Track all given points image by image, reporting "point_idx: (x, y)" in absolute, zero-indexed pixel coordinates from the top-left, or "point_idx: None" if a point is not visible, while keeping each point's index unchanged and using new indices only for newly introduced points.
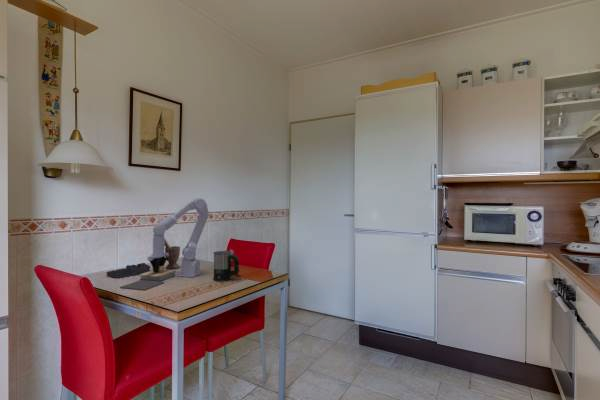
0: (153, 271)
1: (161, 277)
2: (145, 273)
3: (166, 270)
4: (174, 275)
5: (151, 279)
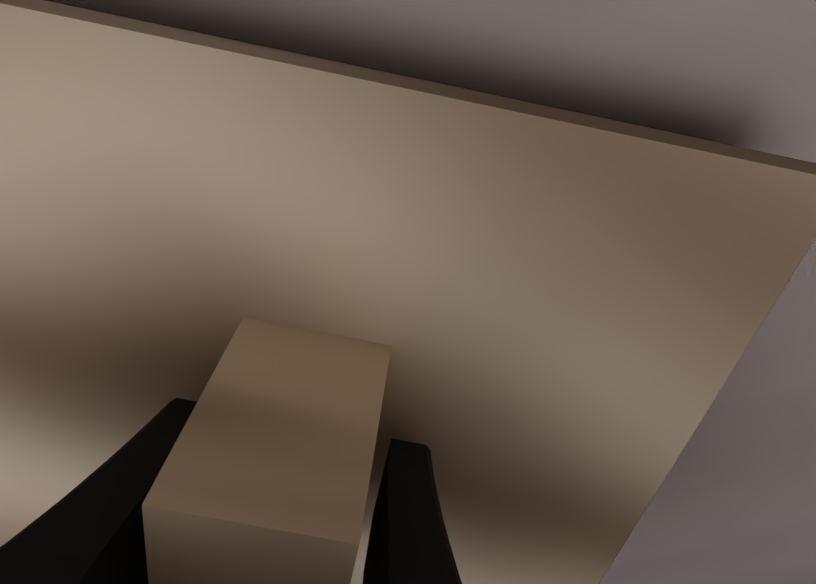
0: (228, 366)
1: None
2: (64, 134)
3: (589, 525)
4: None
5: None
